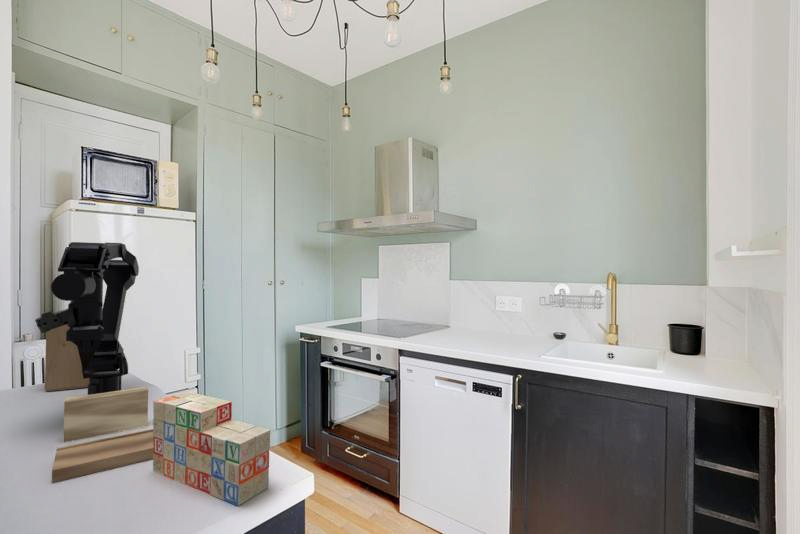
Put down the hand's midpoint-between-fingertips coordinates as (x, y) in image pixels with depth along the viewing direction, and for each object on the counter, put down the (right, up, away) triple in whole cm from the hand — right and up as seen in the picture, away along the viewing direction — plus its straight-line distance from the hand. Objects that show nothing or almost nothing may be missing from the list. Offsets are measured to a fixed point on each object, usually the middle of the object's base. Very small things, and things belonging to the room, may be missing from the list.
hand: (85, 366), depth 90 cm
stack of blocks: (+40, -13, -24) cm, 48 cm away
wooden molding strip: (+19, -12, -18) cm, 29 cm away
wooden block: (-23, -12, +25) cm, 36 cm away
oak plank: (+10, -12, -6) cm, 17 cm away
